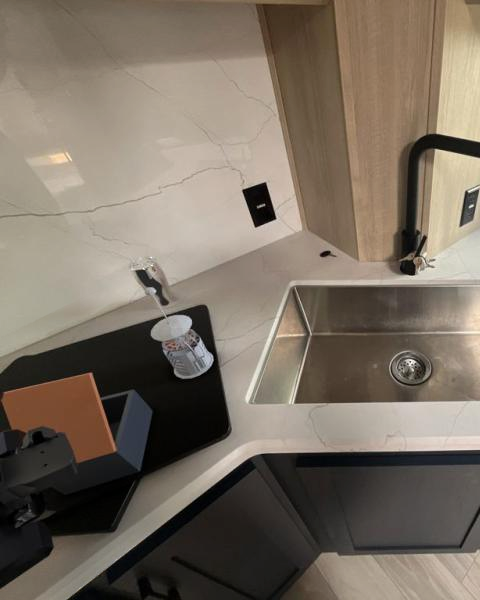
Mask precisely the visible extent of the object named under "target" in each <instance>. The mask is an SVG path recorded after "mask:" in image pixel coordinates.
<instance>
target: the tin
mask: <svg viewBox="0 0 480 600" xmlns="http://www.w3.org/2000/svg"><path fill="white" fill-rule="evenodd" d="M100 400H101V403H102V406H103V409H104V412H105V415H106V418H107V422H108V425H109V428H110V431H111V434H112V437H113V440H114V443H115V447H116V451H115V452H113V453H109V454H106V455H103V456H99V457H96V458H92V459H89V460H86V461H82V462H79V463H77V465H78V472H77V474H76V475H75V476H73V477H72V478H70V479H68V480H66V481H62V482H59V483H57V484H55V485H53V486H51V488H52V489H54V490H56V491H58V492H60V493H62V494H63V495H65V496H67V495H70V494H73V493H76V492H79V491H83V490H86V489H89V488H92V487H95V486H99V485H102V484H105V483H108V482H111V481H115V480H117V479H118V480H119V479H121V478H124V477H128V476H130V475H134V474H137V473H140V472H141V470H142V466H143V460H144V456H145V450H146V445H147V441H148V435H149V431H150V426H151V421H152V417H153V412H154V411H153V410H152V408H151V407H150V406H149V405H148V404H147V403H146V402H145V400H144V399H143V398H142V397H141V396H140V395H139V393H137V391H136V390H135V389H129V390H126V391H122V392H117V393H114V394H109V395H106V396H102V397H100ZM136 469H137V470H136ZM132 470H133V471H132Z"/></svg>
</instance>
